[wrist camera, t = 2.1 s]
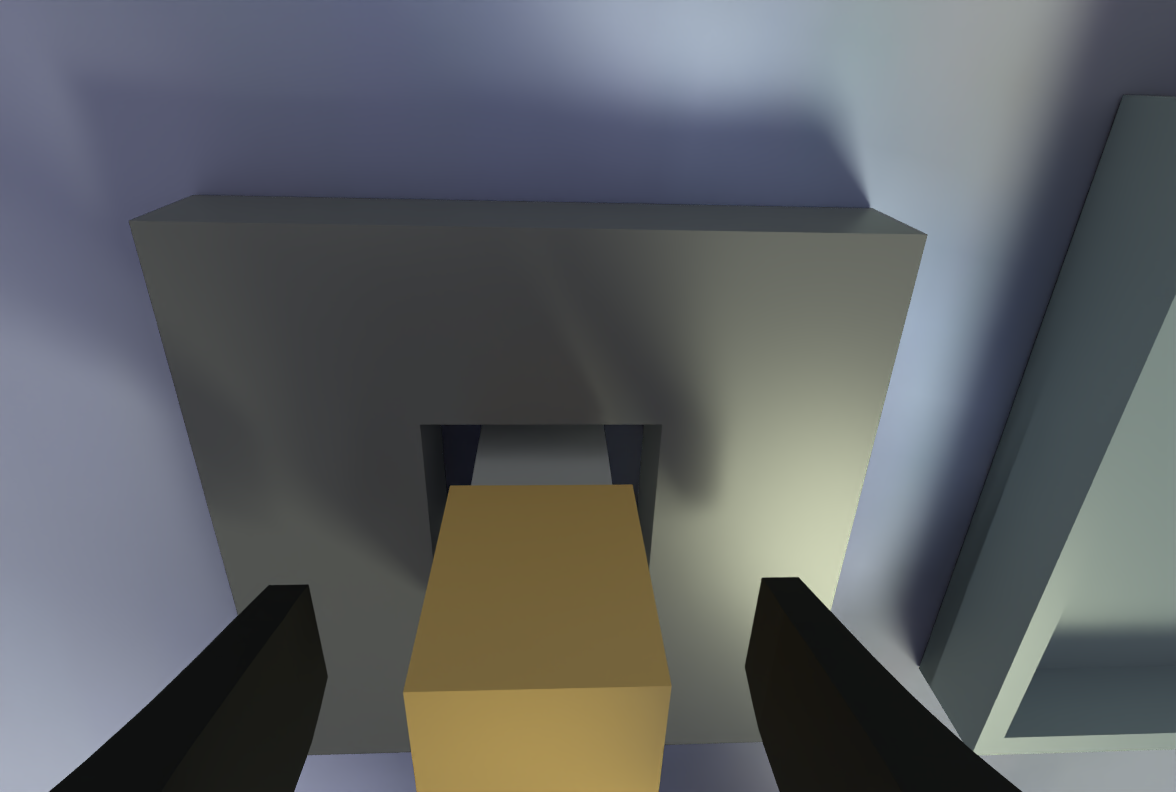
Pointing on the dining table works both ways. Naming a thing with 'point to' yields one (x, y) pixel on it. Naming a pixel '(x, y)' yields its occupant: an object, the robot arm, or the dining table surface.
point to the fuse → (539, 627)
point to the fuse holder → (526, 402)
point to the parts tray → (1082, 492)
